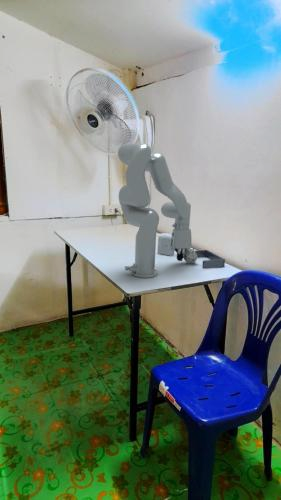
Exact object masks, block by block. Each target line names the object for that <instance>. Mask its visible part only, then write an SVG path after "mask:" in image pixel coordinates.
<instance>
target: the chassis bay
mask: <svg viewBox="0 0 281 500" xmlns="http://www.w3.org/2000/svg"><path fill="white" fill-rule="evenodd" d="M194 251H195V252H196V254H197V255H199V256H198V257H197V259H199V257H201V258H206V257H207V259H206V260H202V265H201V267H202V269H203V270H204V269H211V268H212V269H213V268H214V269H215V268H224V267H225V263H226V259H225V258H223V257H221V256H219V255H218V254H216V253H214V252H212V251H210V250H207V249H202V250H199V249H198V250H194Z"/></svg>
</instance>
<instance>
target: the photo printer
mask: <svg viewBox="0 0 281 500" xmlns="http://www.w3.org/2000/svg"><path fill="white" fill-rule="evenodd" d="M171 237H172V233H166V232H165V233H164V232H162V233H159V234H158V237H157V254H159V255H165V256H171V257H173V256H175V251H173V250H171Z"/></svg>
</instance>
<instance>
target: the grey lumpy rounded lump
mask: <svg viewBox="0 0 281 500" xmlns="http://www.w3.org/2000/svg"><path fill="white" fill-rule="evenodd" d="M192 249H193V250H186V251H185V253H184V255H183V260H184V261H185V263H186V264H185V265H188V264H194V265H196V261H197V259H198V258H197V257H198V256H199V255H197V254H196V252H195V251H196V250H195V248H192Z"/></svg>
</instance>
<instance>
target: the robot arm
mask: <svg viewBox="0 0 281 500" xmlns="http://www.w3.org/2000/svg"><path fill="white" fill-rule="evenodd" d="M117 156H118V159H119V160H120V162H121V163H123V164H124V165H126V166H127V168H126V170H125V173H124V176H125V177H124V178H125V183H126V184H125V185H123V186H122V187H121V188H120V189H119V193H118V202H119V205H120V208H121V211H122V214H123V218H124V220H125V221H126V223H127V224H129V225H131V226H132V227H135V228H136V227H137V228H138V230H137V232H136V235H135V251H134V253H135V254H134V263H133V264H132V265H128V266H124V271H128V272H130V273H131V275H132V276H135V277H137V278H142V279H143V278H144V279H146V278H147V279H148V278H149V279H150V278H154V277H157V276H158V275H159V274H158V270H157V269H155V267H156V266H155V265H156V264H155V263H156V247H157V246H156V245H157V232H158V226H159V223H160V216H159V213H158V212H157V211H156V210H155V209H153V208H149V207H148V206H149V205H150V204H151V194H150V190H149V187H148V183H147V179H146V176H145V175H146V172H149V174H150V177H151V179H152V182H153V185H154V188H155V189H156V190H157V191H158V192H159V193H160V194H162V195H163V196H165V197H167V199H169V200H171V202H170V201H169V202H165V203H164V204H162V206H161V207H160V211H161V214H162V216H163V217H165V218H168V219H169V218H171V219H173V220H174V223H173V224H172V225H171V226H172V228H173V229H172V233H171V235H172V237H171V250H173V251H174V252H175V253H176V260H177V261H178V262H183V260H184V258H183V254H184V252H185V251H186V250H189V249H191V248H192V229H191V228H190V224H191V223H190V222H191V209H192V207H191V206H192V205H191V203H190V202H188V201H187V198H186V196H185V195H184V193H183V192H182V190H181V189H180V188H179V187H178V186H177V184H175V183H174V181H173V179H172V176H171V172H170V170H169V166H168V162H167V161H166V158H165V156H164V155H163V154H162V153H160V152H152V148H151V146H149V144H146V143H142V142H136V143H133V142H132V143H131V142H130V143H124V144H122V145H120V146H119V147H118V150H117Z"/></svg>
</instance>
